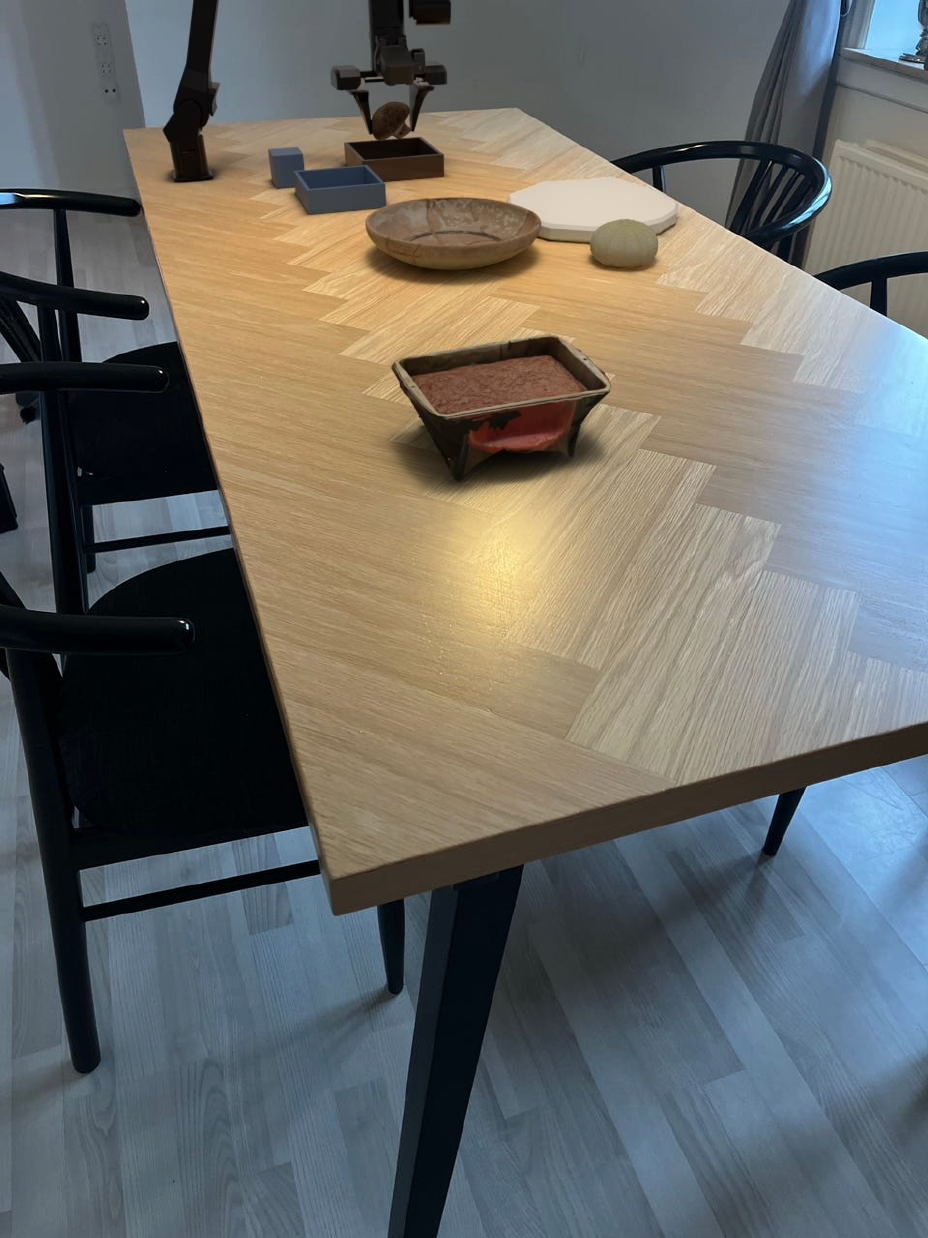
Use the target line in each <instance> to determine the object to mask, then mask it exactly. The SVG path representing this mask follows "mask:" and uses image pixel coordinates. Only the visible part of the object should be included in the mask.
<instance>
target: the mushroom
mask: <svg viewBox="0 0 928 1238" xmlns="http://www.w3.org/2000/svg"><path fill="white" fill-rule="evenodd" d="M409 113H410V108H409V105H408V104H407V103H405V102H403V101H402V102H401V101H389V102H386V103H384V104H383V105H381V106H379V107H378V108H377V109H376V110H375V112H374V113H373V114H372V115H371V121H372V136H373V138H374V140H379V141H382V140H385V139H390V138H392V137H394V139H401V138H405V137H406V136H407V135H409V134H410V133H411V130H412V128H410V125H407V123H406V120H407V119H408V117H409Z"/></svg>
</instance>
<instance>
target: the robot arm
mask: <svg viewBox="0 0 928 1238" xmlns="http://www.w3.org/2000/svg"><path fill="white" fill-rule="evenodd" d="M219 3H220V0H192V9H191V17H190V26H189V34H188V41H187V42H188V43H187V51H186V58H185V59H186V61H185V65H184V69H183V72H182V75H181V78H180V81H179V84H178V87H177V90H176V94H175V97H174V100H173V104H172V115H171V116H170V117H169V119H168V121H167V122H166V123H165V125H164V127H163V128H162V132H163V135H164V137H165V138H166V140H167V143H169V149H170V154H171V160H172V164H173V165H172V166H173V169H171V175H172V177H173V181H174V182H185V181H197V180H199V181H200V180H211V179H214V174H213V172H212V170H211V168H210V167H209V164H208V157H207V151H206V145H205V138H204V135H203V134H202V133H201V132H203V130H204V129H203V128H205V127H206V125H207V124H208V122H209V120H210V118H211V117H212V118H213V117H214V116H215V114H216V112H217V109H218V105H217V95H218V92H219V88H220V85H221V83H220V82H217V81H213V79H212V69H211V67H212V58H213V52H214V51H213V49H214V43H215V36H216V35H215V34H216V29H217V20H218V12H219V5H220V4H219ZM367 11H368V12H367V13H368V29H369V30H368V40H369V49H370V50H369V52H370V60H369V65H370V69H359V68H358V67H357V66H356V65H354V64H347V65H333V66H332V67H331V69H330V72H329V75H330V85H331V86H332V87H333V88H334V89H336V91H345V92H346V93H347V94H349V95H350V96H352V97H353V98H354V101H355V103H356V104H357V107H358V109H359V112H360V114H361V118H362V120H363V123H364V125H365V128H366V131H367V133H368V135H370V136H371V135H372V136H373V134H372V121H371V120H372V115H371V107H370V102H369V101H370V91H368V89H367V88H366V84H372V83H373V84H375V83H384V84H385V85H386V86H388V87H395V86H397V85H398V86H399V85H406V86H408V89H409V91H408V92H409V94H408V95H409V97H408V98H409V99H408V101H409V102H408V103H409V105H408V106H409V108H410V113H409V116H408V117H409V118H408V120H409V127H410V128H412V130H411V131H410V133H411V132H412V133H414V132H415V129H416V127H417V122H418V119H419V116H420V112H421V108H422V106H423V104H424V101H425V98H426V97H427V96H428V94H429V93H430V92H434V91H435V89H436V88H435V86H445V85H448V71H447V67H446V66H445V65H444V64H442V63H440V62H438V61H437V60H427V61H426V51H425V49H424V48H423V47H421V48H419V47H417V48H412V49H410V50H409V47H408V40H407V35H406V29H405V0H367ZM407 16H408V19H412V21H414V24H415V26H416V27H419V26H422V27H425V26H451V21H452V0H407Z"/></svg>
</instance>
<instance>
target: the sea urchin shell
mask: <svg viewBox="0 0 928 1238" xmlns="http://www.w3.org/2000/svg"><path fill="white" fill-rule="evenodd" d="M589 251H590V254H591V255H592V256H593V257H594V259H595V260H596V261H597V262H599V263H601V264H602V265H603V266H606V267H616V268H617V267H619V268H620V267H622V268H639V267H643V266H644V265H646V264H648V263H650V262H651V261H652V260H653V259H654V258H655V257H656V256H657V254H658V251H659V238H658V234H655V233H654V231H653V230H652V228H650V227H649V226H648V225H646V224H644V223H641V222H638V221H635V220H630V219H620V220H616V221H614V220H613V221H612V222H608V223H606V224H604V225H602V226H600V227H599V228H598V229H597V230H596V231H595V232H594V233H593V235H592V238H591V240H590V243H589Z"/></svg>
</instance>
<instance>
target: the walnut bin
mask: <svg viewBox="0 0 928 1238" xmlns="http://www.w3.org/2000/svg"><path fill="white" fill-rule="evenodd" d="M343 147H344V148H343V150H344V159H345V160H344V161H345V165H346V167H348V166H361V165H368V166H369V168H370V169H371V170H372V171H373V172H374V173H375V174H376V175H377V176H378V177H379V178H380V179H381V180H382V181H383V182H384V183H385V182H397V181H398V182H399V181H406V180H407V181H409V180H421V179H431V178H432V179H433V178H442V177H445V154H444V153H443V152H442V151H441V150H439V149H438V148H436V147H435V146H434V145H433V144H431V143H430V142H429V141H427V140H426V139H424V138H423V137H422V136H411V137H403V138H401V139H397V138H388V139H385V140H382V141H379V140H376V139H373V140H360V141H348V142H344V143H343Z"/></svg>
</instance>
